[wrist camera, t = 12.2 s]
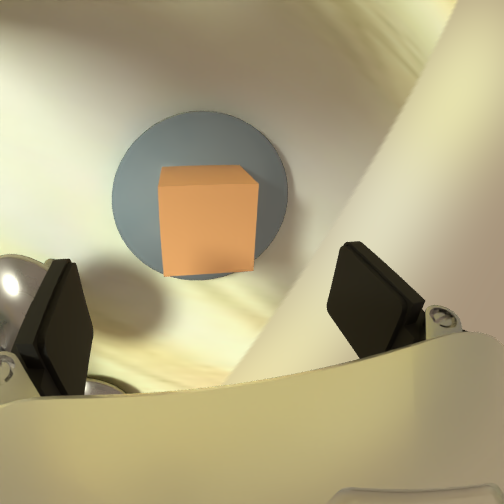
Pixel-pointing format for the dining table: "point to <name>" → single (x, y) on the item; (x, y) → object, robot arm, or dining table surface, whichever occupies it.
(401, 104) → the dining table surface
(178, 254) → the block
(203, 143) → the dish
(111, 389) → the balance
